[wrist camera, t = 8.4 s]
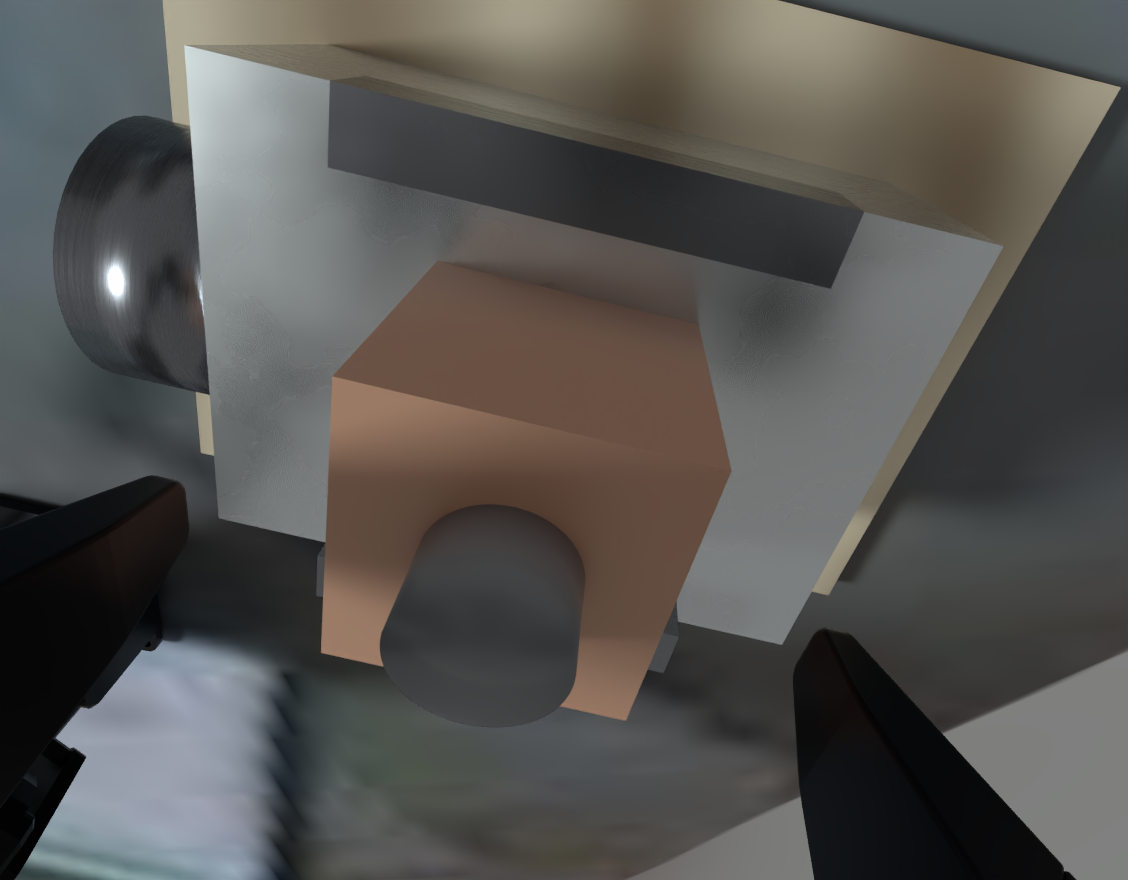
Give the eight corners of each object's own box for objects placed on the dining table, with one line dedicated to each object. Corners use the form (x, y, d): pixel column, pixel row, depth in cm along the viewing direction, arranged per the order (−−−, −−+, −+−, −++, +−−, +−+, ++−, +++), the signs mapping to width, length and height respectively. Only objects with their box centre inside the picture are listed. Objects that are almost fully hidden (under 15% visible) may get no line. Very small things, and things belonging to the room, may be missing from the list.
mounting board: (213, 440, 23) (201, 452, 23) (170, -151, 15) (149, -160, 14) (822, 579, 24) (828, 595, 23) (1099, 85, 16) (1121, 87, 15)
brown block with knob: (411, 478, 15) (274, 742, 9) (437, 260, 12) (269, 444, 7) (628, 528, 15) (624, 819, 9) (699, 325, 13) (749, 556, 7)
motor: (226, 386, 21) (48, 536, 15) (204, 3, 16) (-90, -23, 9) (744, 506, 22) (790, 701, 15) (892, 174, 16) (1059, 258, 10)
